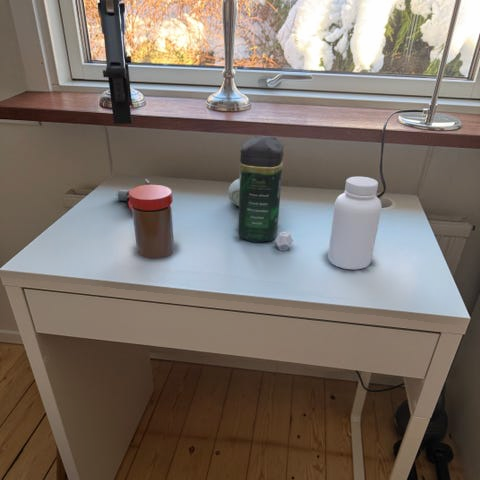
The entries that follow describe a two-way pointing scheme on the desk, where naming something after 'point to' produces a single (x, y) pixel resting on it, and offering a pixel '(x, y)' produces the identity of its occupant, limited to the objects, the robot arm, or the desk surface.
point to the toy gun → (127, 195)
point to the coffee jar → (260, 188)
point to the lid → (150, 197)
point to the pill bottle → (355, 224)
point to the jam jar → (154, 232)
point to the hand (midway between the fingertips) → (123, 113)
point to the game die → (283, 241)
